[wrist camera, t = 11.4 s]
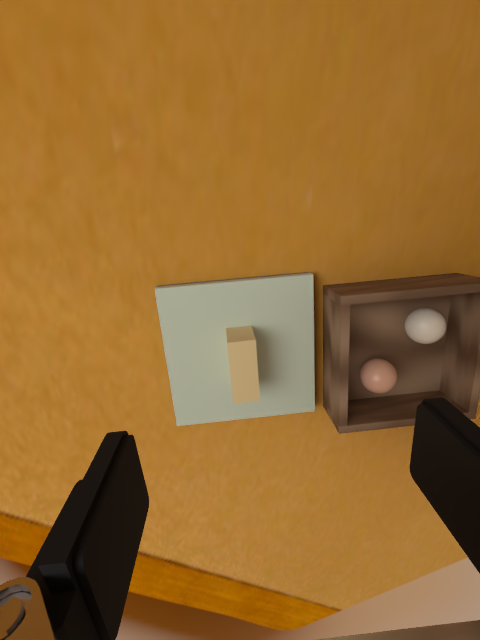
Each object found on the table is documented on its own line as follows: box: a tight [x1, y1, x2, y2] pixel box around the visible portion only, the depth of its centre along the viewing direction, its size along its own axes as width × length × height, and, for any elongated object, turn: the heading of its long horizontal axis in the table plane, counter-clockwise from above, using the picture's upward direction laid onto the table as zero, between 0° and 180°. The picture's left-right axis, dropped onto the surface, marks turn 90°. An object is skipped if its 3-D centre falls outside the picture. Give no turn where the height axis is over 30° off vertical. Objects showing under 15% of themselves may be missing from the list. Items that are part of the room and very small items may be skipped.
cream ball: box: [404, 308, 446, 344], centre depth 31 cm, size 4×4×4 cm
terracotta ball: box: [359, 358, 397, 394], centre depth 33 cm, size 4×4×4 cm
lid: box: [155, 273, 315, 426], centre depth 30 cm, size 15×15×5 cm
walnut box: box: [323, 273, 480, 434], centre depth 32 cm, size 14×14×5 cm
